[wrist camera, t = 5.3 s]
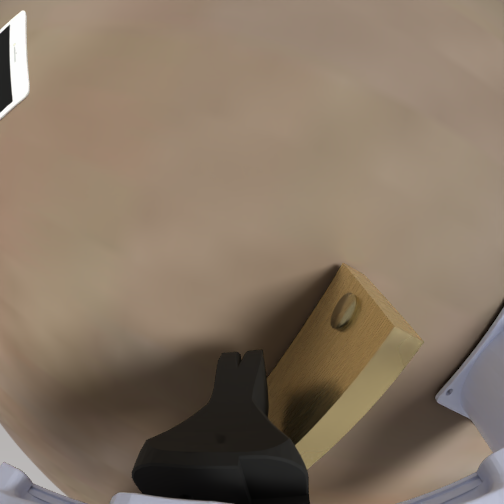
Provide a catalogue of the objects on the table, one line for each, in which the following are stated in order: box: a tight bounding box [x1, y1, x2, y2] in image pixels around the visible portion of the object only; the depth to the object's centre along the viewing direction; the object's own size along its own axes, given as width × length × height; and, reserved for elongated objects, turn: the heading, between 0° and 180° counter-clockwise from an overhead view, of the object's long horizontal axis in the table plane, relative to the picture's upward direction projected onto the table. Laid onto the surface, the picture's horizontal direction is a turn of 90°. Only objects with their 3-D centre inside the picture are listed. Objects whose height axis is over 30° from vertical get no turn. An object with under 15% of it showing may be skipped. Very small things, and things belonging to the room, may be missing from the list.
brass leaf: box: [267, 263, 424, 469], centre depth 12 cm, size 15×2×6 cm, turn 152°
